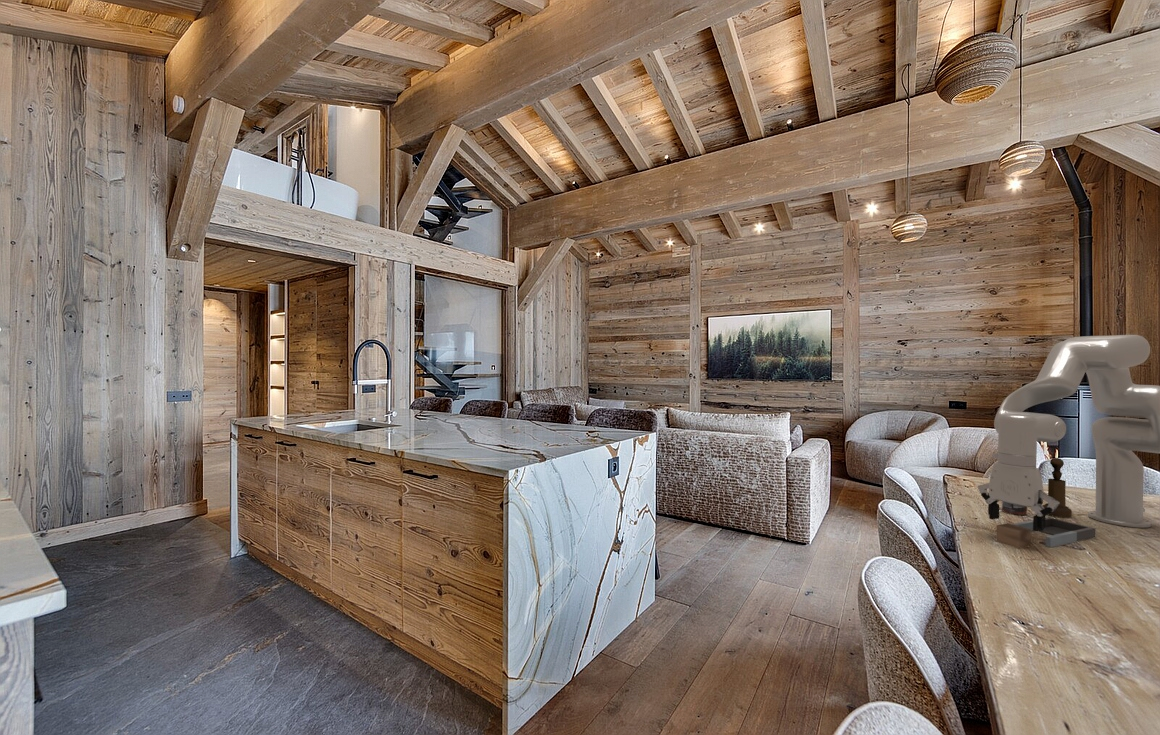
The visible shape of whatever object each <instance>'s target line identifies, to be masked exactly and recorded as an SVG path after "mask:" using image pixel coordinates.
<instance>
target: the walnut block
mask: <svg viewBox="0 0 1160 735" xmlns="http://www.w3.org/2000/svg"><path fill="white" fill-rule="evenodd" d="M1013 524H1014V523H1010V522H1009V523H1008V522H1007V523H1001V524H996V531H995V532H996V533H995V534H996V536H995V537H996V538H995V539H996V541H995V542H997V543H1001V544H1003V545H1006V546H1010V547H1013V548H1017V549H1024V548H1027V547H1031V546H1032V542H1031V541H1032V540H1031V539H1032V538H1031V537H1032V531H1031V529H1028V528H1024V527H1021V526H1017V525H1013Z"/></svg>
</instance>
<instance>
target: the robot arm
mask: <svg viewBox="0 0 1160 735" xmlns="http://www.w3.org/2000/svg"><path fill="white" fill-rule="evenodd" d="M1150 354H1151V345H1150V343H1149V341H1148V340H1147V339H1146V338H1145V337H1144V336H1142V335H1139V334H1117V335H1116V334H1115V335H1112V334H1111V335H1088V336H1087V335H1085V336H1074V337H1070V338H1067V339H1064V341H1063V340H1062V341H1060V342H1057V343H1055V344H1054V345H1053V346H1052V348H1051V349H1050V351H1049V353H1048V355H1047V357H1046V359H1045V361H1044V363H1043V366H1042V367H1041V369H1040V370H1039V373H1038V375H1037V377H1036V379H1035V380H1033V381H1031V382H1029V383H1027V384H1025V385H1023V386H1021V387H1020V388H1017V389H1016V390H1015V391H1013V392H1011V393H1010V394H1009V395H1007V396H1006V398H1004V399H1003V401H1002V403H1001V404H1000V407H999V408H998V409H997V412H996V414H995V417H994V421H993V426H994V429H995V431H996V433H997V434H998V435H997V436H998V438H997V439H998V440H997V443H998V444H997V447H998V448H997V451H996V452H993V453H992V458H995V459H996V462H994V463H993V465H992V468H991V472H990V476H989V482H987V483H983V484H980V485H979V484H978V485H977V489H978V490H979V493H980V496H981V497H982V498H983V500H985V503H986V504H987V508H988V509H987V514H988V518H989V520H999V519H1000V504H999V503H998V502H1002V501H1003V502H1007V503H1011V504H1016V505H1020V506H1025V507H1027V508H1030V509H1031V510H1032V511H1033V513H1035V515H1033V517H1032V518H1033V519H1032V520H1033V530H1034V531H1033V532H1037V533H1038V532H1039V531H1043V530H1044V528H1045V520H1046V518H1047V517H1046V516H1049V515H1048V514H1050V513H1052V512H1054V511H1055V509H1056V508H1057V507H1058V506H1059V504H1060V503H1059V502H1058V501H1057V500H1055V499H1054V498H1052V497H1050V496H1049V495H1048V493H1045V492H1044V486H1043V485H1044V484H1043V479H1042V478H1043V477H1042V474H1041V470H1040V467H1037V452H1038V449H1037V448H1038V447H1037V444H1038V442H1043V443H1054V442H1058V441H1060V440H1061V439H1062V438H1064V437H1065V435H1066V433H1067V424H1066V423H1065V421H1064V420H1063V419H1062V418H1061V417H1059V416H1056V415H1054V414H1049V413H1039V412H1029V411H1025V410H1028V408H1031V407H1033V406H1036V405H1039V404H1044V403H1047V402H1052V401H1056V400H1060V399H1061V400H1062V399H1064V398H1065V399H1066V398H1068V397H1070V396H1072V395H1074V394H1076V392H1077V390H1078V388H1079V386H1080V384H1081V382H1082V380H1083V378H1084V376H1085V375H1086V376H1087V380H1088V385H1089V389H1090V396H1091V399H1092V404H1093V406H1094V408H1095V410H1096V411H1097V412H1098V413H1099V414H1104V415H1107V416H1106V417H1105V416H1104V417H1101V418H1098V419H1096V420H1095V421H1094V422H1093V423H1092V425H1091V435H1092V440H1093V443H1094V449H1095V510H1090V511H1088V513H1087V515H1088V517H1089V518H1090V519H1093V520H1096V521H1098V522H1102V523H1107V524H1110V525H1116V526H1123V527H1128V528H1141V529H1142V528H1143V529H1145V528H1150V527H1152V522H1151V521H1150V520H1148V519H1145V518H1144V513H1145V512H1146V509H1145V508H1144V470H1145V469H1144V464H1143V462H1142V461H1141V459H1140V458H1139V457H1138V456H1137V454H1135V451H1136V452H1144V453H1151V454H1152V453H1153V454H1160V385H1157V384H1156V385H1155V384H1136V383H1133V381H1132V380H1133V379H1132V377H1131V372H1130V368H1132V367H1136V366H1139V365H1142V364H1143V363H1145V361H1147V359H1148V358H1149V356H1150ZM1085 373H1086V374H1085ZM1108 415H1109V416H1108ZM1044 501H1045V502H1046V503H1048V504H1049V505H1048V506H1047V507H1046V508H1044V507H1043V506H1042V505H1044Z"/></svg>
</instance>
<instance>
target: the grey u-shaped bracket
mask: <svg viewBox="0 0 1160 735" xmlns="http://www.w3.org/2000/svg"><path fill="white" fill-rule="evenodd" d="M1012 524H1013V525H1017V526H1021V527H1024V528H1028V529H1031V532H1035V531H1034V530H1033V519H1030V520H1027V521H1022V522H1015V523H1012ZM1096 529H1097V528H1095V527H1093V526H1088V525H1084V524H1079V523H1075V522H1071V521H1066V520H1063V519H1058V518H1055V517H1054V518H1053V517H1052V516H1048V517H1046V520H1045V528H1044V530H1043V531H1038V532H1039V533H1043V534H1047V536H1045V547H1047V548H1051V549H1052V548H1054V547H1059V546H1063V545H1064V546H1065V545H1068V544H1072V543H1075V542H1076V543H1077V542H1081V541H1086V540H1090V539H1092V538H1093V539H1094V538H1096V531H1097V530H1096Z"/></svg>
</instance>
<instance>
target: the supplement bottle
mask: <svg viewBox="0 0 1160 735" xmlns="http://www.w3.org/2000/svg"><path fill="white" fill-rule="evenodd" d="M1001 510H1002V511H1003V512H1005V513H1006V512H1007V514H1010V513H1011V515H1017V516H1024V515H1027V513H1028V507H1025V506H1020V505H1016V504H1011V503H1007V502H1003V501H1001Z"/></svg>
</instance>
